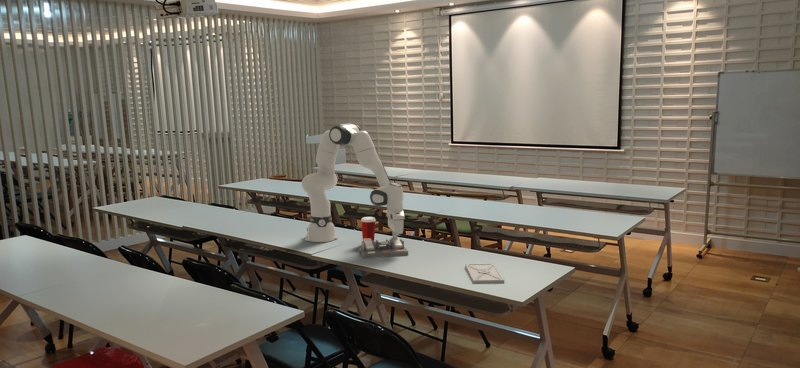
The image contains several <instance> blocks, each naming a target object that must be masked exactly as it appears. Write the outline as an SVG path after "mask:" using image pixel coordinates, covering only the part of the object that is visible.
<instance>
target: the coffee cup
mask: <svg viewBox="0 0 800 368" xmlns="http://www.w3.org/2000/svg"><path fill="white" fill-rule="evenodd" d="M376 221H377V220H376V218H375V217H373V216H364V217H362V218H361V220H360V222H361V234H362V241H363V239H368V238H371V240H374V241H375V234H376V233H375V232H376V231H375V230H376ZM363 242H364V241H363Z"/></svg>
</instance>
